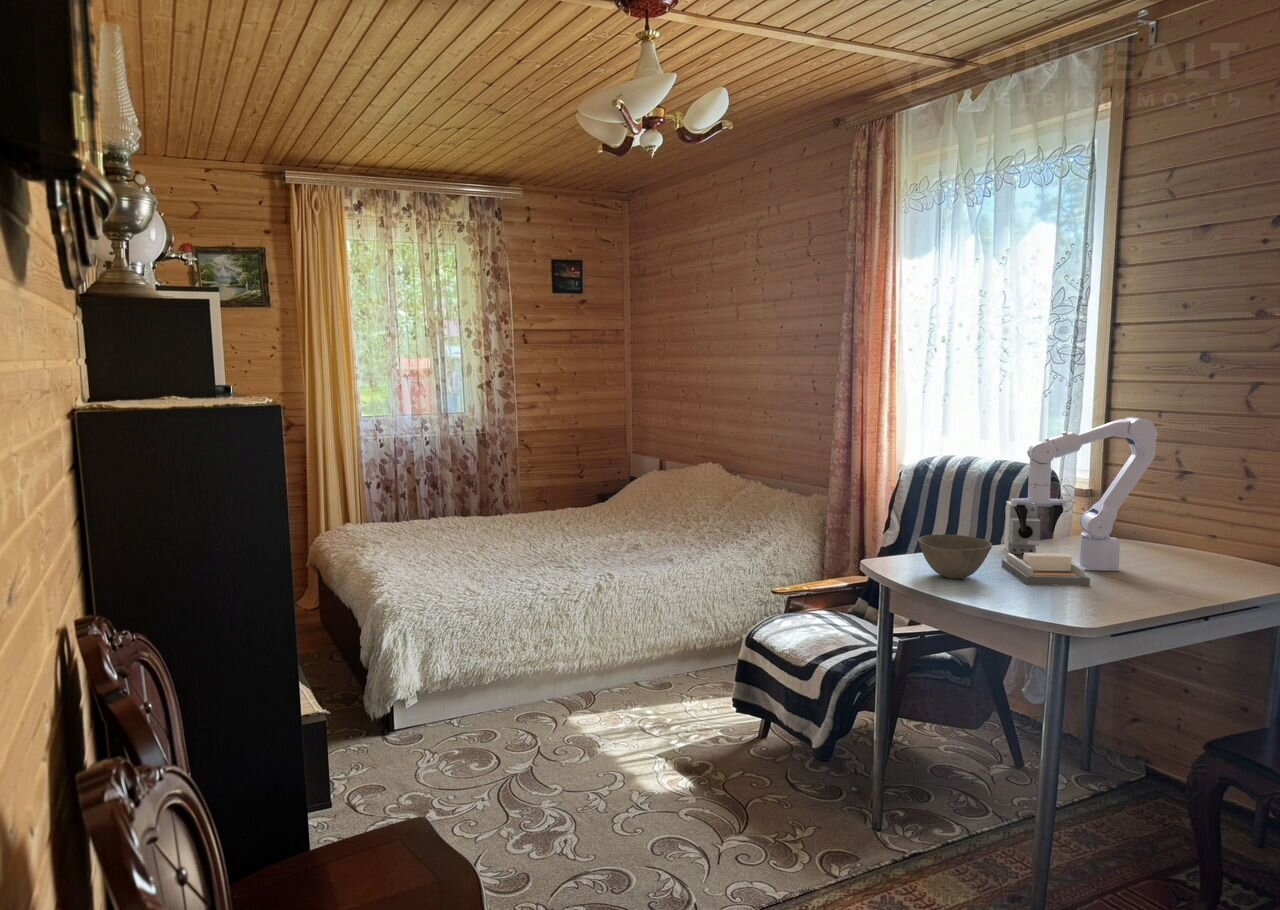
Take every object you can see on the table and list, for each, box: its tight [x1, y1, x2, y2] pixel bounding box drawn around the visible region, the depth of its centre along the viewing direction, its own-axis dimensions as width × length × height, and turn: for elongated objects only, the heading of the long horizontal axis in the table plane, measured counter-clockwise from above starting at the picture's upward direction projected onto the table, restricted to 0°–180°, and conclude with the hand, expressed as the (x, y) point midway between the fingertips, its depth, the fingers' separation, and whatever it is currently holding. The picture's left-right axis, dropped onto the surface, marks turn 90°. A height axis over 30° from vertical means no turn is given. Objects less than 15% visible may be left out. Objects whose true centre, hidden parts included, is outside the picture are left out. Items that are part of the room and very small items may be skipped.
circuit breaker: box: [1003, 500, 1041, 555], centre depth 255 cm, size 8×14×15 cm, turn 166°
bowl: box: [917, 533, 993, 580], centre depth 228 cm, size 19×19×10 cm
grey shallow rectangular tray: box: [1001, 552, 1091, 586], centre depth 229 cm, size 16×20×4 cm
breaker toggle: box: [1022, 552, 1073, 571], centre depth 227 cm, size 11×4×4 cm, turn 84°
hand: (1037, 531), depth 240 cm, fingers open, 7 cm apart
